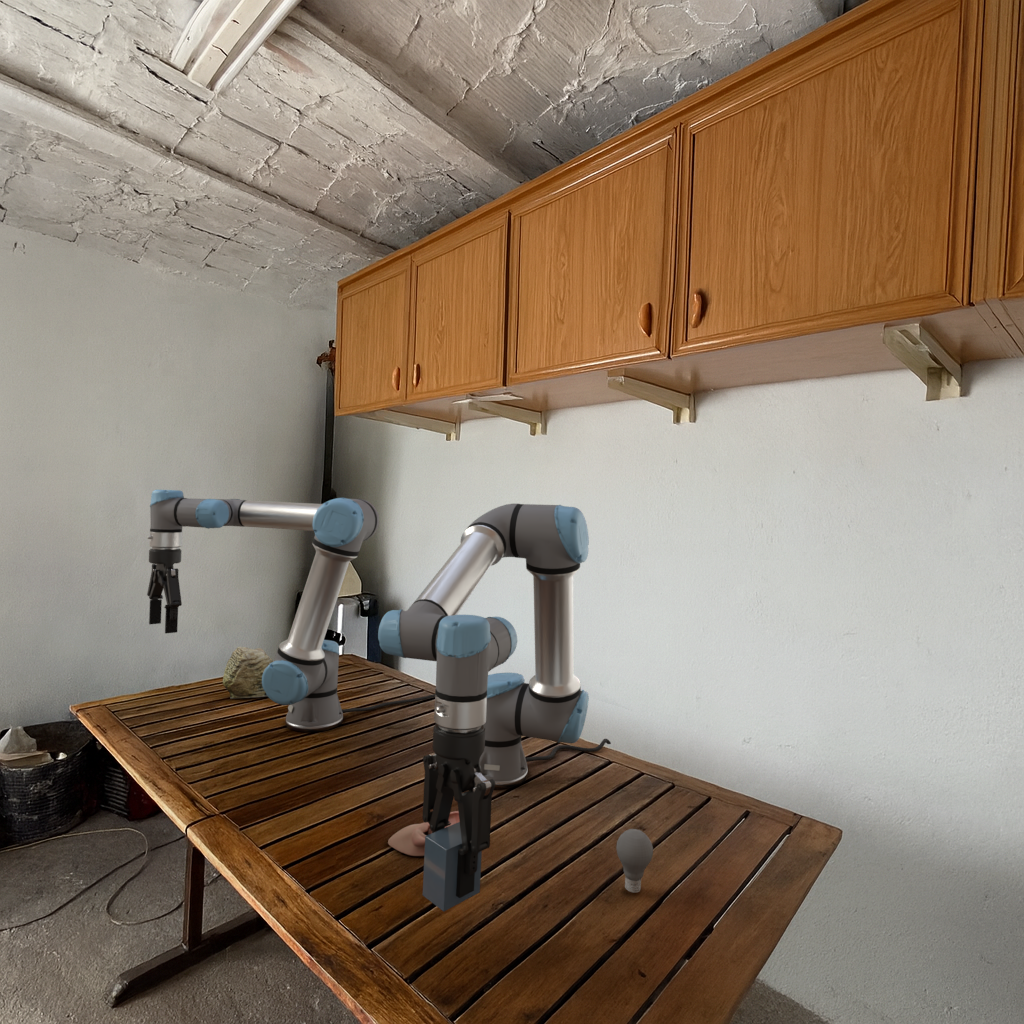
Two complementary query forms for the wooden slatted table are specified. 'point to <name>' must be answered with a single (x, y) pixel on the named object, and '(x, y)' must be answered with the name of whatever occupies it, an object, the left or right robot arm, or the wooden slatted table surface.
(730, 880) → the wooden slatted table surface
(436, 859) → the brick
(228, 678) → the fossil
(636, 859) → the light bulb
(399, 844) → the anatomical model
